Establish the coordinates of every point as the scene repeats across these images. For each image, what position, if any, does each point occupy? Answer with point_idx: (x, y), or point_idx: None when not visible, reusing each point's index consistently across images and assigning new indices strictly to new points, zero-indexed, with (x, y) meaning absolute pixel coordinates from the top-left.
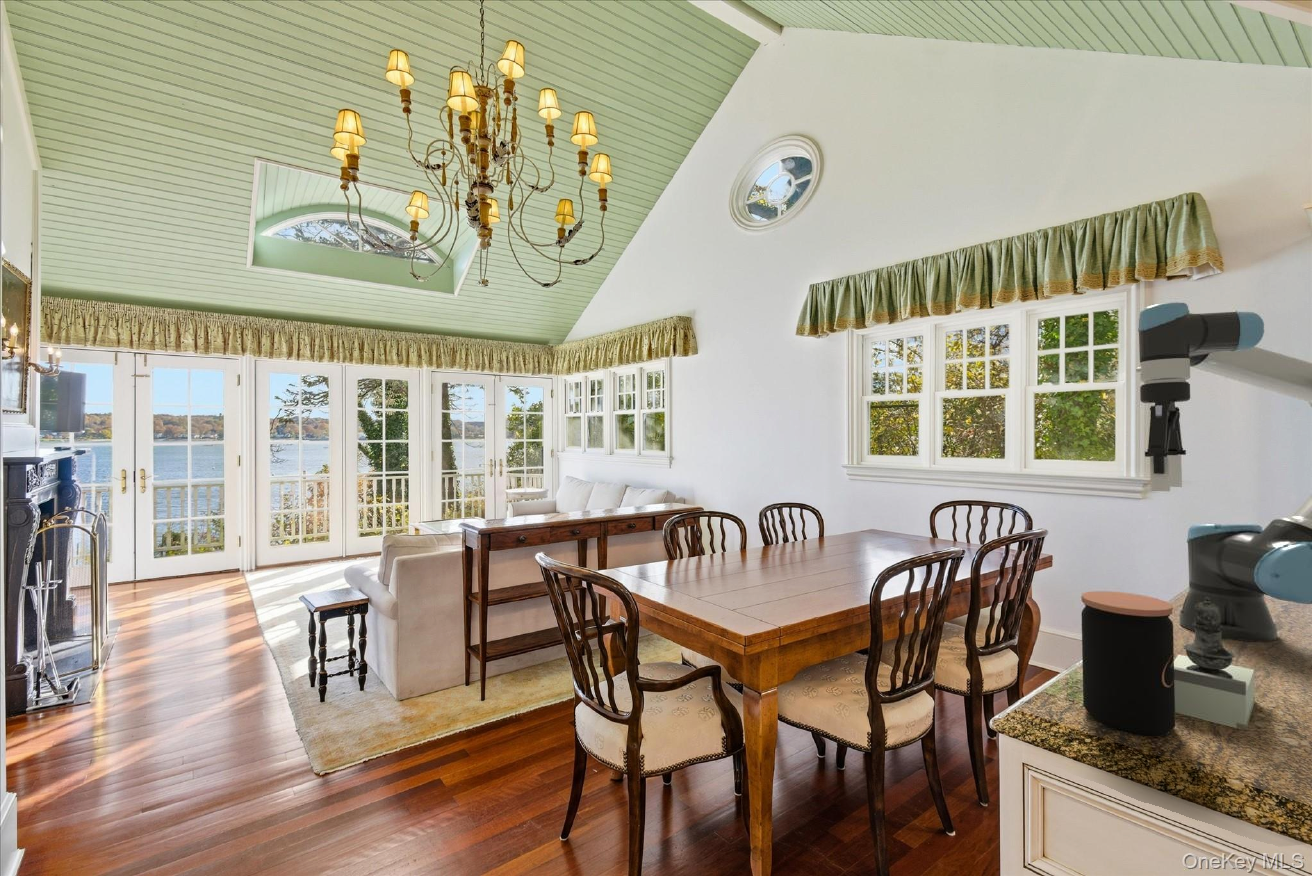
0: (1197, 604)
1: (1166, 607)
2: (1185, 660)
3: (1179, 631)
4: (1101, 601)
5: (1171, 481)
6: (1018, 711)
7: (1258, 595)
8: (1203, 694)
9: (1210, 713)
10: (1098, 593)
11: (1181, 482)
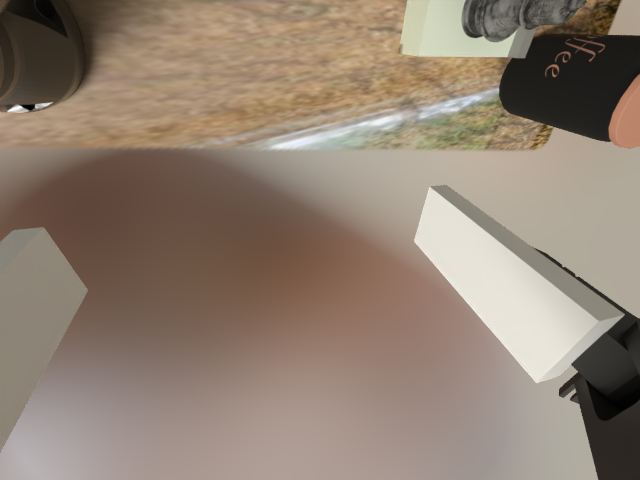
0: (567, 20)
1: None
2: (441, 44)
3: (110, 97)
4: None
5: (54, 289)
6: (532, 148)
7: None
8: None
9: None
10: (631, 134)
11: (10, 247)
